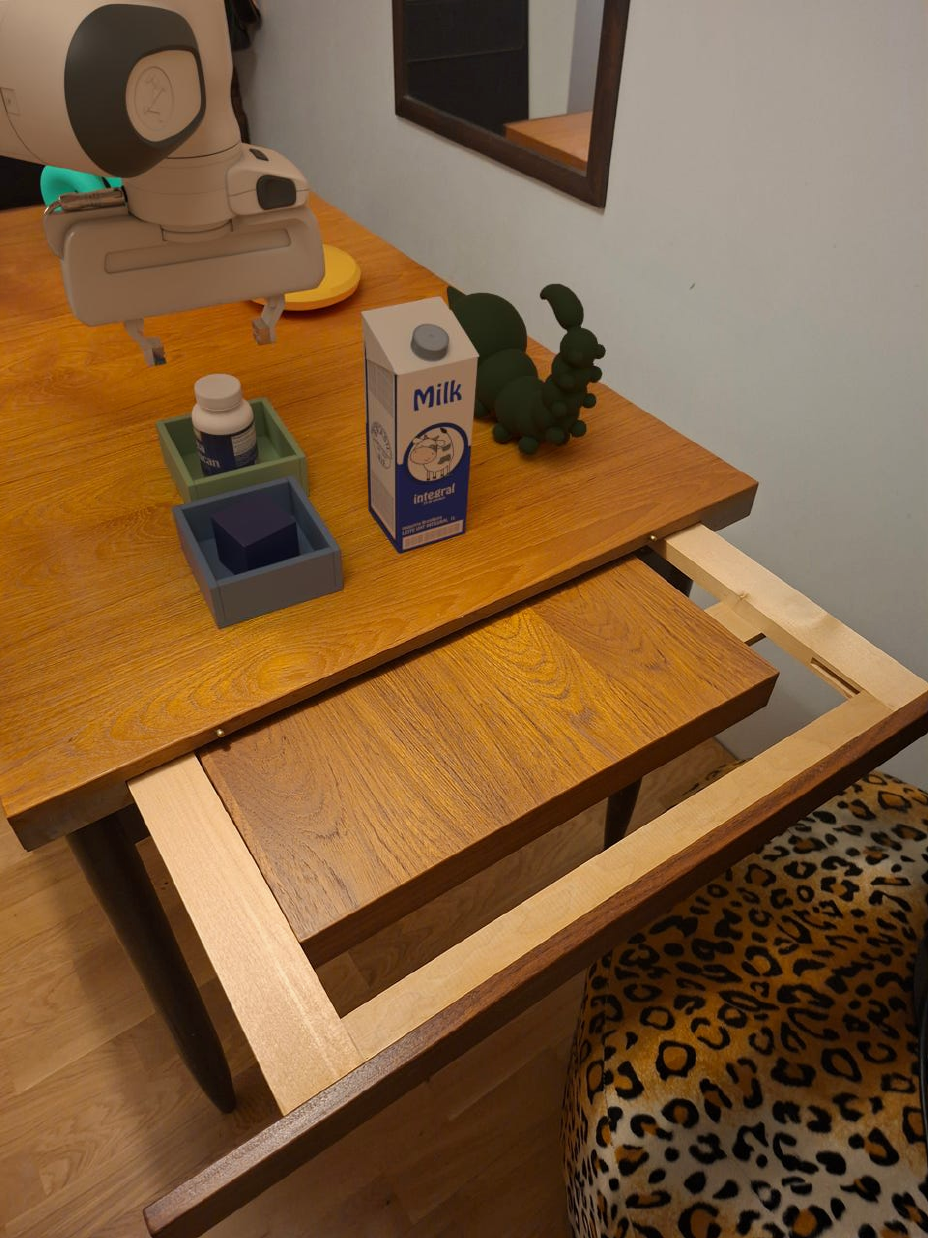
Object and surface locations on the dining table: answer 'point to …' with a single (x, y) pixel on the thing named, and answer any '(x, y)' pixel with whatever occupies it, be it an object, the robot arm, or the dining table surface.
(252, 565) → the navy block
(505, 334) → the toy figurine
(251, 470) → the green bin
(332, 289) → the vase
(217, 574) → the blue bin
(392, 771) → the dining table surface
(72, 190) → the donuts
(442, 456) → the milk carton
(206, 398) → the pill bottle
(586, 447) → the dining table surface
